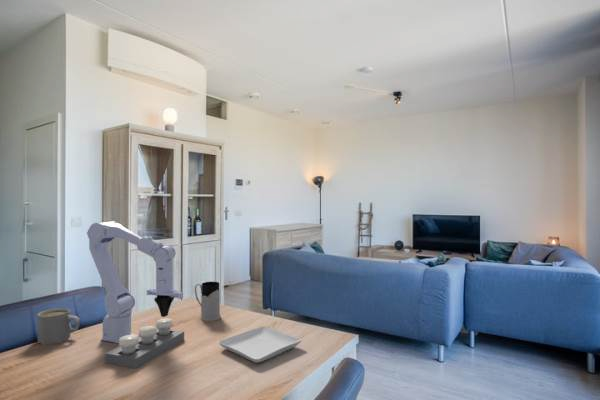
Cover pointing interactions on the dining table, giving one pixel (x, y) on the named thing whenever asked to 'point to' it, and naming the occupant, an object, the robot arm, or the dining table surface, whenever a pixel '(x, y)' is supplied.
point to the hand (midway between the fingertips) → (164, 315)
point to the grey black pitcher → (209, 301)
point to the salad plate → (260, 343)
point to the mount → (144, 350)
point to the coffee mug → (55, 325)
